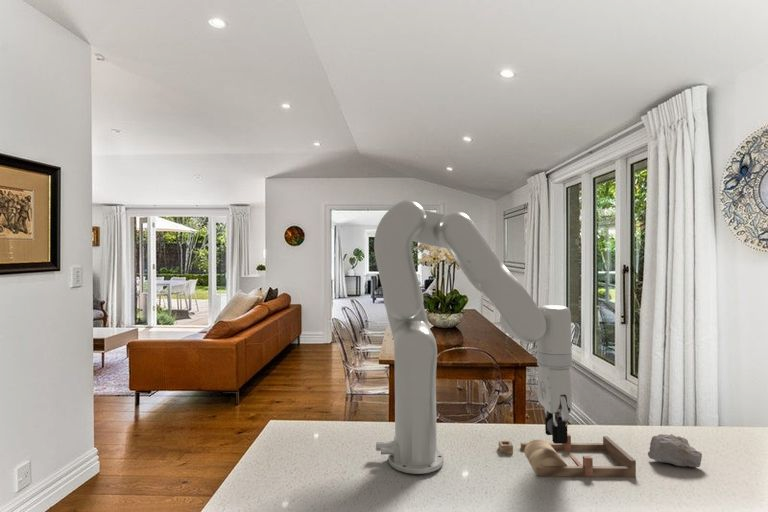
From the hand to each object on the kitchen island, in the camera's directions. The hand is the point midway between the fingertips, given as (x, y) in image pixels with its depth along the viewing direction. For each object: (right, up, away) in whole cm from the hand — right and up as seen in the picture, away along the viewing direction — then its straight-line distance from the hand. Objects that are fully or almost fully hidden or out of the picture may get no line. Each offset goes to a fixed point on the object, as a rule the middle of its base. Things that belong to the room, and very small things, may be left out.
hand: (556, 437), depth 102 cm
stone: (+22, -5, -1) cm, 22 cm away
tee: (-10, -6, +5) cm, 13 cm away
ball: (0, +1, 0) cm, 1 cm away
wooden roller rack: (+4, -11, 0) cm, 11 cm away
